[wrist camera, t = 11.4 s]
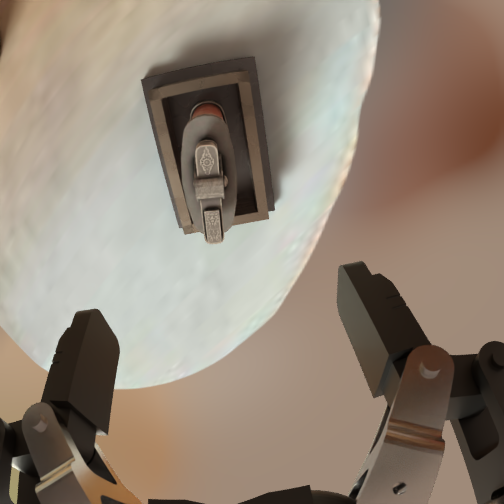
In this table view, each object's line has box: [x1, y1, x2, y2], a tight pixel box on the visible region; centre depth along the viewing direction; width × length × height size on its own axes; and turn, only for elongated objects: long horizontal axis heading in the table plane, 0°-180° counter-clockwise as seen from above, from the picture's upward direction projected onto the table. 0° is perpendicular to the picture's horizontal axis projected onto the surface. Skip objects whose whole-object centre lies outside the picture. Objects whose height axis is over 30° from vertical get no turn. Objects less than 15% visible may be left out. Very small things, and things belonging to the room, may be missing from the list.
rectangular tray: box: [141, 57, 275, 234], centre depth 24 cm, size 9×14×4 cm, turn 8°
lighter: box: [181, 100, 237, 244], centre depth 21 cm, size 8×3×10 cm, turn 2°
